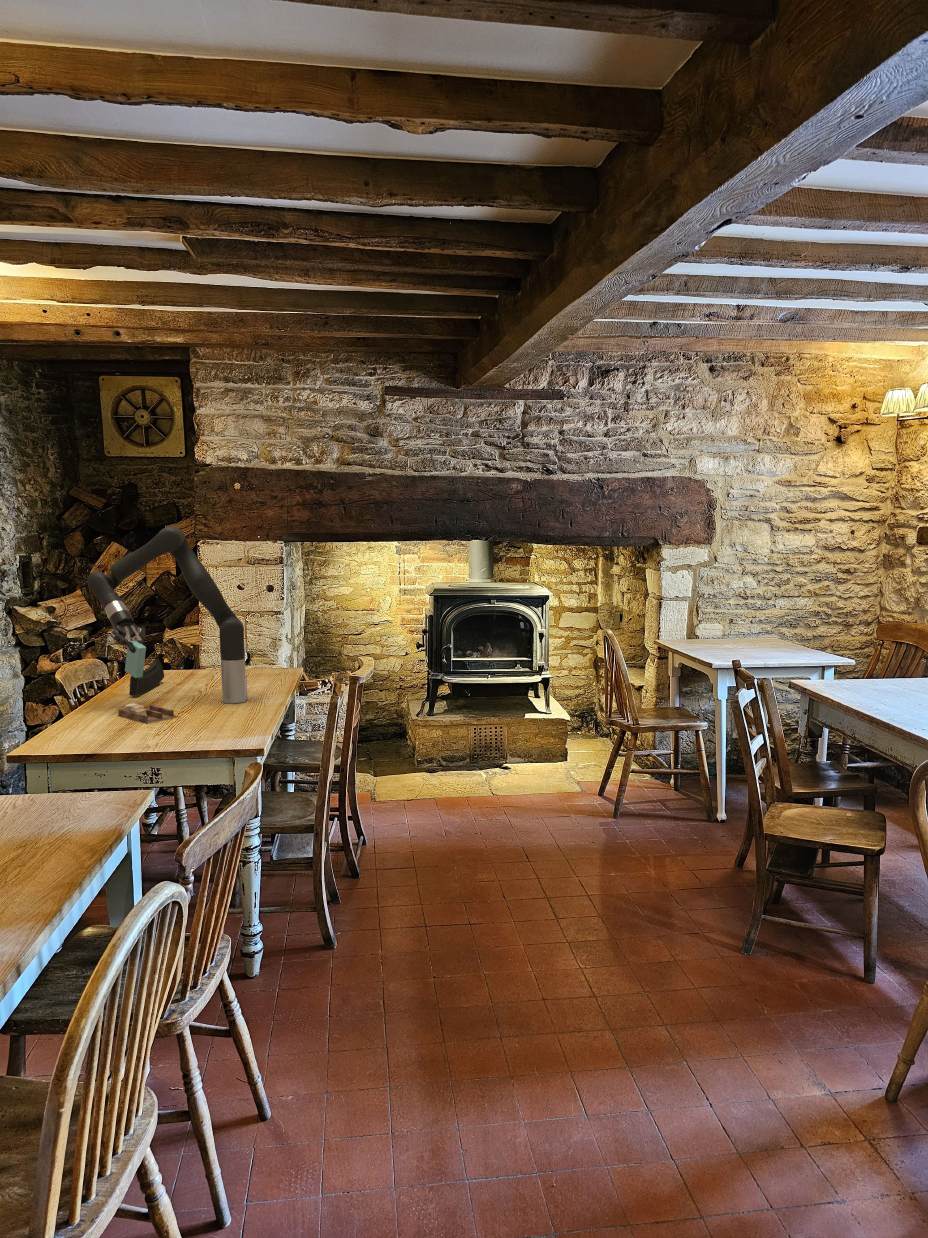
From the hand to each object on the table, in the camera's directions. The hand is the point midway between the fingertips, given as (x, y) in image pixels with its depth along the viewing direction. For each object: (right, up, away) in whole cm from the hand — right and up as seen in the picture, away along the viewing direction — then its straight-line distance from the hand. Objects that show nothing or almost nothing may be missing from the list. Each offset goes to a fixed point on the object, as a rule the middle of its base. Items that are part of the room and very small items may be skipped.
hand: (138, 651), depth 299 cm
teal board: (-3, -9, +4) cm, 10 cm away
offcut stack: (+1, -24, -6) cm, 24 cm away
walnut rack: (+5, -25, -4) cm, 26 cm away
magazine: (-14, -19, +45) cm, 51 cm away
